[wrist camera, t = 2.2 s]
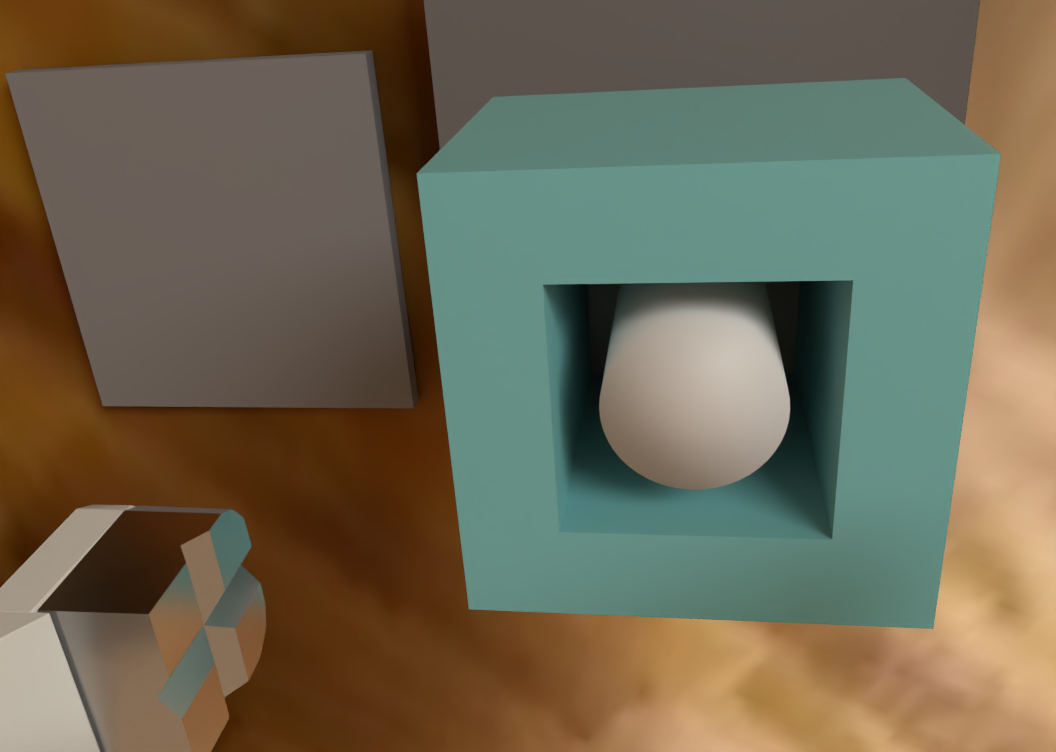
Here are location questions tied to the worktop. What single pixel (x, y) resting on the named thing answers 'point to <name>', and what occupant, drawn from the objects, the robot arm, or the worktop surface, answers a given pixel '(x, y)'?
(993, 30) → the worktop surface
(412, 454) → the worktop surface
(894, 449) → the collar
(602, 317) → the stand
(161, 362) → the mat
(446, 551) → the worktop surface
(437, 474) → the worktop surface
